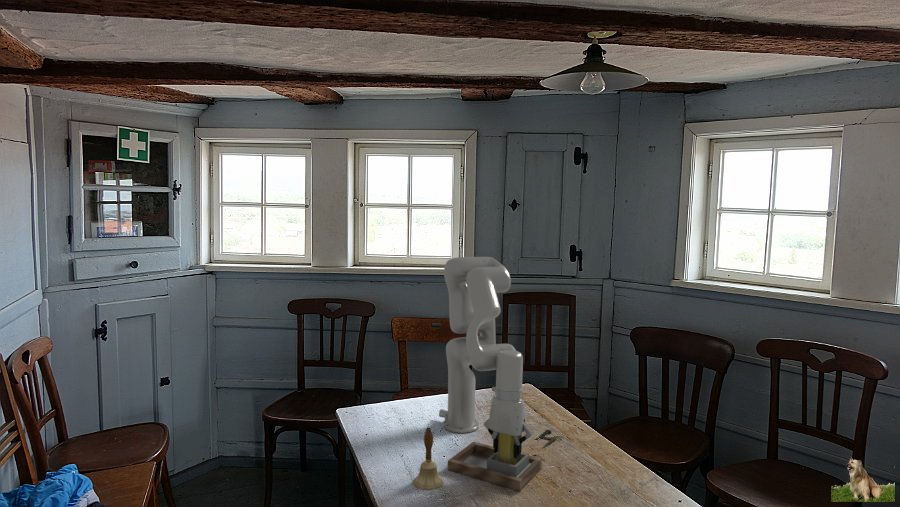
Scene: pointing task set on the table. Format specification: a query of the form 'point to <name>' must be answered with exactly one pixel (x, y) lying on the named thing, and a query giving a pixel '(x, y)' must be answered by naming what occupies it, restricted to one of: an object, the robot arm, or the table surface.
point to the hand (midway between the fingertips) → (507, 453)
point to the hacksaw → (547, 438)
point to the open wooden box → (474, 465)
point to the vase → (506, 449)
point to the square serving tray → (508, 465)
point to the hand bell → (428, 467)
